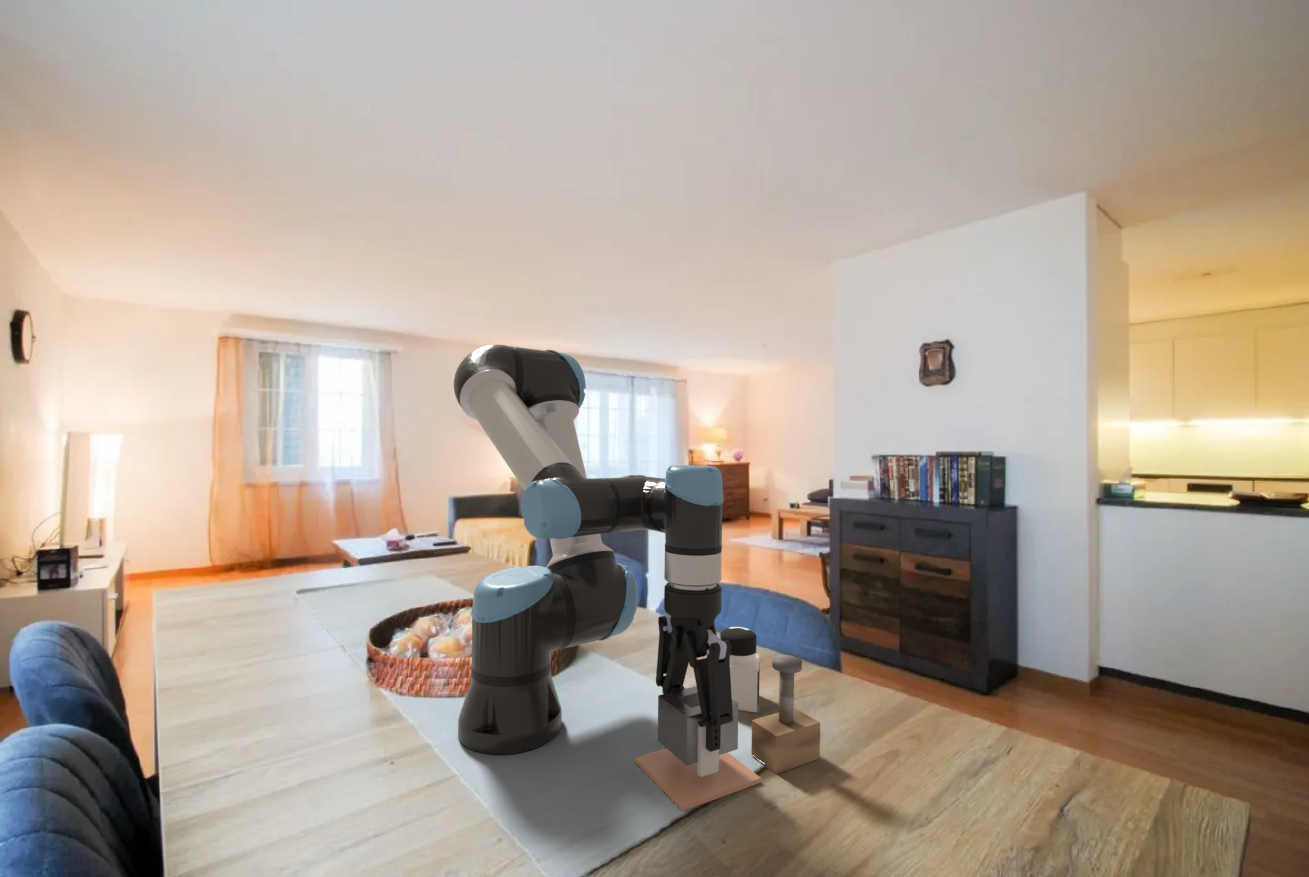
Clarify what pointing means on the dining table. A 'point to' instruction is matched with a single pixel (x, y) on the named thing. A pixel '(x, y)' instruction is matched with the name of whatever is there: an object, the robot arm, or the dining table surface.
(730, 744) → the c link
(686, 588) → the robot arm
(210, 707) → the dining table surface
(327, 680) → the dining table surface
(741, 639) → the medicine bottle
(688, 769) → the tile
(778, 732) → the knob on wooden block
